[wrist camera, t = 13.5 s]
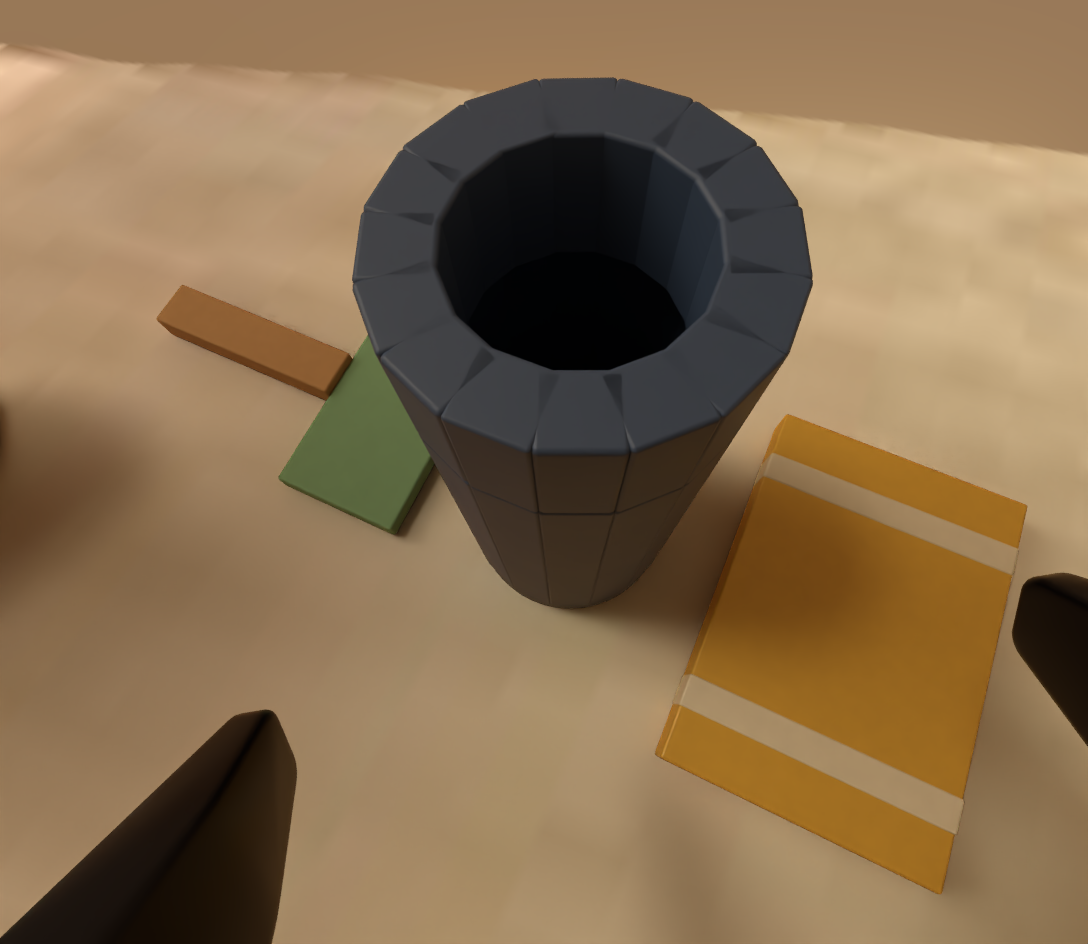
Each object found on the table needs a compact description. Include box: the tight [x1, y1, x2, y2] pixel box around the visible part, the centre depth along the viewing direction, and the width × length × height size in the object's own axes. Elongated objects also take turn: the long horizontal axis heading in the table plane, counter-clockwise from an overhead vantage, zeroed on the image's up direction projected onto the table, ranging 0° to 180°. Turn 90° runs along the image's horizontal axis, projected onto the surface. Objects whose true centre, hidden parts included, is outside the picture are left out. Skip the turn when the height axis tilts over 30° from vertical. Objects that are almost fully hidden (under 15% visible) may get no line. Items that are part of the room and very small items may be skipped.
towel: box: [655, 414, 1027, 894], centre depth 18 cm, size 7×11×1 cm
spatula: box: [157, 285, 435, 535], centre depth 22 cm, size 11×8×1 cm
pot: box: [352, 78, 813, 608], centre depth 14 cm, size 6×6×13 cm
